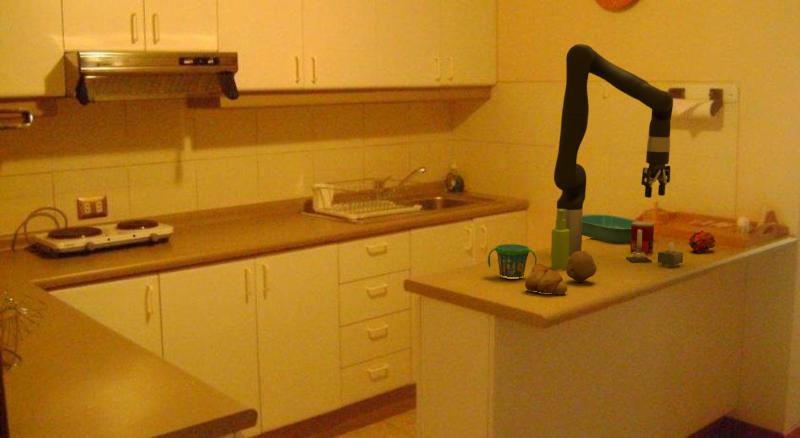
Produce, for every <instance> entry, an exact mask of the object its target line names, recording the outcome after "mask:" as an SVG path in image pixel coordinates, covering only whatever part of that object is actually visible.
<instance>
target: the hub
mask: <svg viewBox="0 0 800 438" xmlns="http://www.w3.org/2000/svg"><path fill="white" fill-rule="evenodd" d="M674 244H675V243H674V242H672V241H671V242H668V250H669V251H668V253H673V251H674V250H675V249H674V246H675V245H674ZM661 264H662V267H664V268H665V267H666V268H678V267H679V264H675V265H671V264H665V263H661Z"/></svg>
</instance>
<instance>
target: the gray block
mask: <svg viewBox="0 0 800 438" xmlns="http://www.w3.org/2000/svg"><path fill="white" fill-rule="evenodd" d="M668 251H669V249H665V250H661V251H658V252H657V263H660V264H662V263H665V264H671V265H675V264H678V265H679V264H681V263H684V252H683V251H678V250H673V253H668Z"/></svg>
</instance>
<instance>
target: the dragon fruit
mask: <svg viewBox="0 0 800 438" xmlns="http://www.w3.org/2000/svg"><path fill="white" fill-rule="evenodd" d="M714 237H715V236H714V235H713V234H712V233H711V232H710V231H706V232H705V231H704V229H703V230H700V231H696V232H694V234H693V235H692V236H690V239H689V242H688V245H689V247H690V248H691V249H692V250H693V251H692V252H693V253H697V254H698V253H701V252H704V253H705V254H706V253H708V252H709V251H710V249H713V248H715V247H716V245H715V242H716V239H715V238H714Z"/></svg>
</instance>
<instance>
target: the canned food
mask: <svg viewBox="0 0 800 438" xmlns="http://www.w3.org/2000/svg"><path fill="white" fill-rule="evenodd" d="M638 221H639V222H632V224H631V243H630V249H629V250H630V252H631V253H632V254H633V252H635V251H637V230H642V249H641V252H645V255H651V254H653V250H654V235H655V233H654V231H655V223H653V222H649V221H641V220H638Z"/></svg>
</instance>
